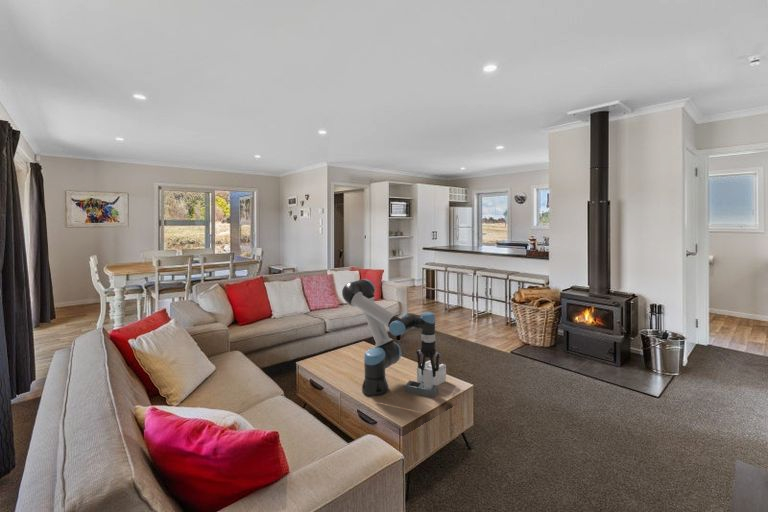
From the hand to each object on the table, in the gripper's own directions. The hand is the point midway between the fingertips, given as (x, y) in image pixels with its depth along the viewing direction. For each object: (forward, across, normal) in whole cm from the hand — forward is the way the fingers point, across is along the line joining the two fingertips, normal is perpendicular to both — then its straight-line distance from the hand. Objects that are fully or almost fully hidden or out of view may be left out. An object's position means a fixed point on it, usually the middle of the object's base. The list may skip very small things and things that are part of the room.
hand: (428, 381), depth 204 cm
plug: (+5, 0, 0) cm, 5 cm away
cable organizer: (+8, -2, +13) cm, 15 cm away
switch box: (+7, -4, 0) cm, 8 cm away
